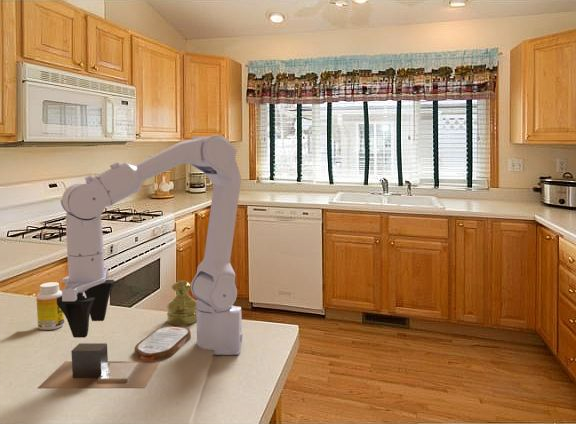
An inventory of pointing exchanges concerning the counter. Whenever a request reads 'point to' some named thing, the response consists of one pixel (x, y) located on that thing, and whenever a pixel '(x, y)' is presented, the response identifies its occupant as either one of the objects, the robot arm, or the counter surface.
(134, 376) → the board
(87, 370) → the grey pillar on tile
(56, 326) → the supplement bottle
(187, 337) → the tin
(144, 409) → the counter surface
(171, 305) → the green vase
